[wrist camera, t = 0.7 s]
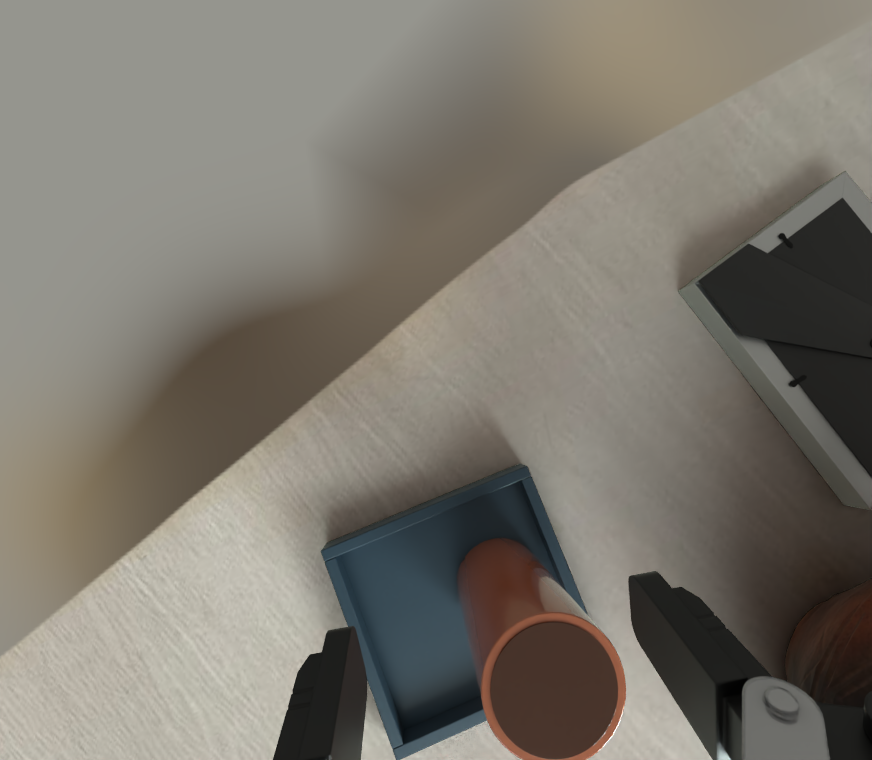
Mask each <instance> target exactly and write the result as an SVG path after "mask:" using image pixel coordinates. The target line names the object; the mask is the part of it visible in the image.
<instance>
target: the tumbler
mask: <svg viewBox="0 0 872 760" xmlns="http://www.w3.org/2000/svg"><path fill="white" fill-rule="evenodd" d="M457 593H458V598H459V602H460V607H461V611H462V616H463V620H464V625H465V629H466V634H467V638H468V643H469V647H470V652H471V656H472V661H473V665H474V670H475V674H476V679H477V683H478V688H479V692H480V697H481V701H482V706H483V710H484V713H485V716H486V719H487V721H488V723H489V726H490V728H491V729H492V731H493V733H494V734H495V736H496V737H497V739H498V740H499V741H500V742H501V743H502V745H503V746H505V747H506V748H507V749H508V750H509V751H510V752H511V753H513V754H514V755H515V756H517V757H518V758H520V759H522V760H586V759H588V758H590V757H591V756H593V755H594V754H595V753H597V752H598V751H599V750H600V749H601V748H602V747H603V746H604V745H605V744H606V743H607V742H608V741H609V739H610V738H611V737H612V735H613V734H614V732H615V730H616V729H617V727H618V724H619V722H620V720H621V717H622V714H623V710H624V705H625V699H626V684H625V675H624V671H623V667H622V664H621V661H620V658H619V656H618V654H617V652H616V650H615V648H614V647H613V645H612V643H611V642H610V641H609V639H608V638H607V637H606V636H605V635H604V633H603V632H602V631H601V630H600V629H599V628H598V627H597V625H596V624H595V623H594V622H593V621H592V620H591V619H590V617H589V616H588V615H587V614H586V613H585V612H584V611H583V610H582V608H581V607H580V606H579V605H578V604H577V603H576V602H575V600H574V599H573V598H572V597H571V596H570V595H569V594H568V592H567V591H566V590H565V589H564V588H563V587H562V586H561V585H560V583H559V582H558V581H557V580H556V579H555V578H554V577H553V575H552V574H551V573H550V572H549V571H548V570H547V569H546V567H545V566H544V565H543V564H542V563H541V562H540V561H539V560H538V558H537V557H536V556H535V555H534V554H533V553H532V552H531V551H530V550H529V549H528V548H527V547H526V546H524V545H523V544H521V543H519V542H517V541H514V540H511V539H506V538H495V539H490V540H487V541H484V542H482V543H480V544H478V545H477V546H475V547H474V548H473V549H472V550H470V551H469V553H468V554H467V555H466V556H465V558H464V559H463V561H462V563H461V565H460V568H459V571H458V575H457Z"/></svg>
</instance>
